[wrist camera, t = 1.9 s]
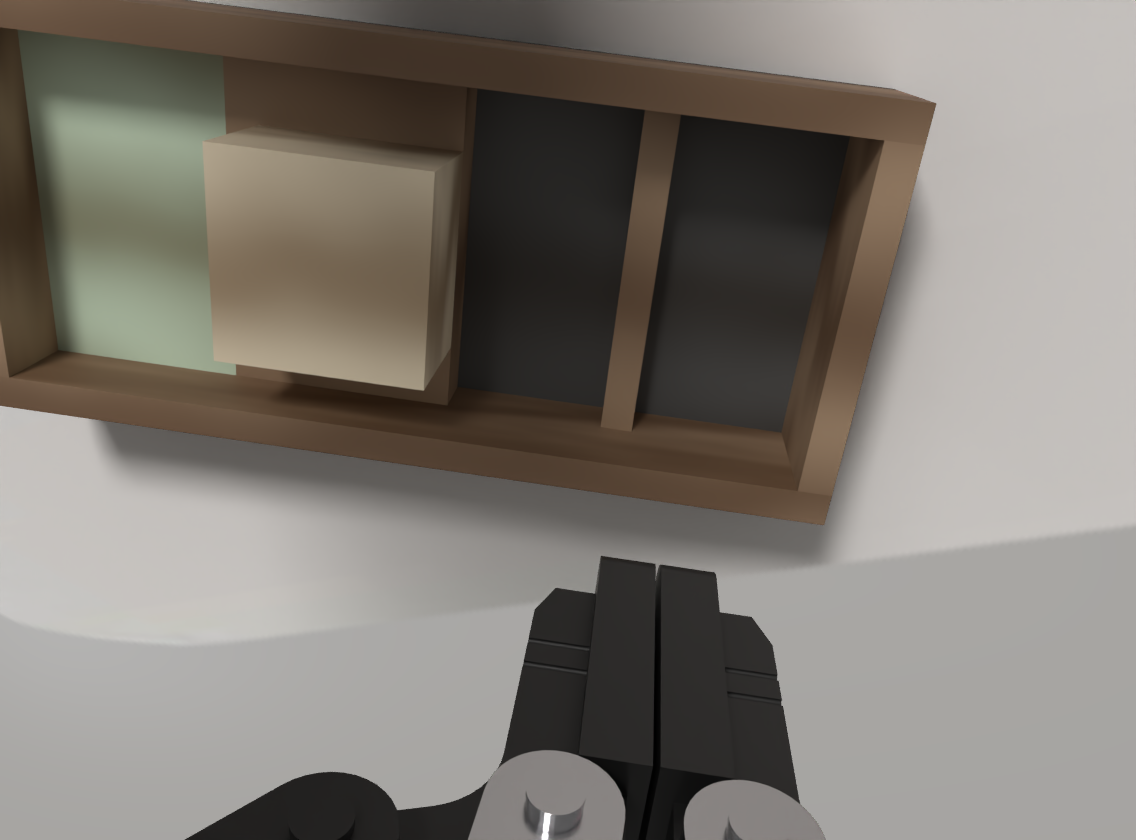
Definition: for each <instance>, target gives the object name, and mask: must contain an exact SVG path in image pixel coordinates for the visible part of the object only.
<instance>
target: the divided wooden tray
mask: <svg viewBox="0 0 1136 840" xmlns="http://www.w3.org/2000/svg"><path fill="white" fill-rule="evenodd" d="M935 107H936V103H933V102H930V101H927V100H925V99H922V98H919V97H916V96H913V95H910V94H907V93H904V92H901V91H898V90H895V89H889V88H881V87H873V86H865V85H858V84H850V83H842V82H834V81H826V80H818V79H810V78H802V77H794V76H786V75H778V74H770V73H762V72H754V71H746V70H738V69H730V68H722V67H714V66H706V65H699V64H691V63H683V62H675V61H667V60H659V59H651V58H643V57H635V56H627V55H619V54H611V53H603V52H595V51H587V50H579V49H571V48H563V47H555V46H547V45H540V44H532V43H524V42H516V41H508V40H500V39H492V38H484V37H476V36H468V35H460V34H452V33H444V32H436V31H428V30H420V29H412V28H404V27H396V26H389V25H381V24H373V23H365V22H357V21H349V20H341V19H333V18H325V17H317V16H309V15H301V14H293V13H285V12H277V11H269V10H261V9H253V8H245V7H237V6H230V5H222V4H214V3H206V2H198V1H190V0H0V406H6V407H13V408H20V409H27V410H34V411H41V412H47V413H54V414H61V415H68V416H75V417H82V418H89V419H96V420H103V421H109V422H116V423H123V424H130V425H137V426H144V427H151V428H158V429H165V430H171V431H178V432H185V433H192V434H199V435H206V436H213V437H220V438H227V439H233V440H240V441H247V442H254V443H261V444H268V445H275V446H282V447H289V448H295V449H302V450H309V451H316V452H323V453H330V454H337V455H344V456H351V457H357V458H364V459H371V460H378V461H385V462H392V463H399V464H406V465H413V466H419V467H426V468H433V469H440V470H447V471H454V472H461V473H468V474H475V475H481V476H488V477H495V478H502V479H509V480H516V481H523V482H530V483H537V484H543V485H550V486H557V487H564V488H571V489H578V490H585V491H592V492H599V493H605V494H612V495H619V496H626V497H633V498H640V499H647V500H654V501H661V502H667V503H674V504H681V505H688V506H695V507H702V508H709V509H716V510H723V511H729V512H736V513H743V514H750V515H757V516H764V517H771V518H778V519H785V520H791V521H798V522H805V523H812V524H819V525H824V524H825V520H826V516H827V512H828V508H829V505H830V501H831V497H832V493H833V490H834V486H835V482H836V478H837V475H838V471H839V467H840V463H841V460H842V456H843V452H844V448H845V445H846V441H847V437H848V433H849V430H850V426H851V422H852V418H853V415H854V411H855V407H856V403H857V400H858V396H859V392H860V388H861V385H862V381H863V377H864V373H865V370H866V366H867V362H868V358H869V354H870V351H871V347H872V343H873V339H874V336H875V332H876V328H877V324H878V321H879V317H880V313H881V309H882V306H883V302H884V298H885V294H886V291H887V287H888V283H889V279H890V276H891V272H892V268H893V264H894V261H895V257H896V253H897V249H898V246H899V242H900V238H901V234H902V231H903V227H904V223H905V219H906V216H907V212H908V208H909V204H910V200H911V197H912V193H913V189H914V185H915V182H916V178H917V174H918V170H919V167H920V163H921V159H922V155H923V152H924V148H925V144H926V140H927V137H928V133H929V129H930V125H931V122H932V118H933V114H934V110H935ZM258 125H262V126H270V127H278V128H285V129H293V130H301V131H308V132H316V133H323V134H331V135H339V136H346V137H354V138H362V139H369V140H377V141H384V142H392V143H400V144H407V145H415V146H423V147H430V148H438V149H446V150H453V151H461V152H463V163H462V179H461V195H460V211H459V227H458V243H457V259H456V275H455V291H454V307H453V323H452V339H451V348H450V350H449V351H448V353H447V355H446V356H445V358H444V359H443V361H442V362H441V364H440V366H439V367H438V369H437V370H436V372H435V374H434V375H433V377H432V378H431V380H430V382H429V383H428V385H427V386H426V388H425V389H424V391H422V390H415V389H408V388H401V387H394V386H387V385H380V384H373V383H366V382H359V381H352V380H345V379H338V378H331V377H324V376H317V375H310V374H303V373H295V372H288V371H281V370H274V369H267V368H260V367H253V366H246V365H239V364H232V363H225V362H218V361H214V354H213V335H212V316H211V297H210V278H209V259H208V240H207V221H206V202H205V183H204V164H203V145H202V141H205V140H208V139H212V138H215V137H219V136H222V135H226V134H229V133H233V132H237V131H240V130H244V129H247V128H251V127H254V126H258Z"/></svg>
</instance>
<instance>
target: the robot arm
mask: <svg viewBox="0 0 1136 840" xmlns="http://www.w3.org/2000/svg"><path fill="white" fill-rule="evenodd" d="M655 576H656V567H655V564H652V563H645V562H638V561H632V560H625V559H618V558H611V557H605V556H601V559H600V564H599V571H598V577H597V584H596V591H595V594H593V593H586V592H579V591H573V590H566V589H560V588H555V589H554V590H553V591H552V593H551V594H550V595H549V596H548V597H547V598H546V599H545V600H544V601H543V602H542V603H541V604H540V605H539V606H538V607H537V608H536V609H535V612H534V616H533V620H532V625H531V630H530V635H529V640H528V644H527V649H526V653H525V658H524V664H523V667H522V672H521V676H520V681H519V686H518V690H517V695H516V700H515V705H514V709H513V714H512V719H511V723H510V728H509V733H508V737H507V742H506V747H505V751H504V755H503V758H502V761H501V763H500V765H499V767H498V769H497V770H496V771H495V772H494V773H493V775H492V776H491V777H490V779H489V780H488V781H487V782H486V783H485V784H484V785H483V786H482V787H481V788H479V789H478V790H476V791H475V792H473V793H471V794H470V795H467V796H465V797H463V798H461V799H459V800H456V801H453V802H450V803H446V804H442V805H436V806H430V807H421V808H413V809H406V810H397V809H396V807H395V805H394V803H393V801H392V799H391V798H390V797H389V796H388V795H387V793H386V792H385V791H383V790H382V789H381V788H380V787H379V786H378V785H376V784H374V783H373V782H370V781H369V780H367V779H364V778H362V777H359V776H357V775H352V774H347V773H340V772H323V773H316V774H310V775H305V776H302V777H299V778H296V779H293V780H291V781H289V782H287V783H285V784H283V785H281V786H279V787H277V788H275V789H274V790H272V791H270V792H268V793H267V794H265V795H263V796H261V797H259V798H258V799H256V800H254V801H252V802H251V803H249V804H247V805H245V806H244V807H242V808H240V809H238V810H237V811H235V812H233V813H231V814H229V815H228V816H226V817H224V818H222V819H220V820H219V821H217V822H215V823H213V824H212V825H210V826H208V827H206V828H205V829H203V830H201V831H199V832H197V833H196V834H194V835H192V836H190V837H189V838H187V839H185V840H826V839H825V837H824V834H823V832H822V830H821V828H820V827H819V825H818V823H817V822H816V821H815V819H814V818H813V817H812V816H811V814H810V813H809V812H808V811H807V810H806V809H805V808H804V807H802V805H801V804H800V801H799V797H798V791H797V785H796V779H795V773H794V768H793V763H792V756H791V751H790V744H789V739H788V733H787V727H786V721H785V716H784V710H783V706H781V701H782V698H781V693H780V687H779V681H777V669H776V663H775V658H774V652H773V646H772V644H771V643H770V641H769V640H768V639H767V637H766V636H765V635H764V633H763V632H762V630H761V629H760V628H759V627H758V625H757V624H756V622H755V621H754V620H753V618H752V617H748V616H741V615H734V614H728V613H720V612H719V601H718V590H717V579H716V574H715V573H714V572H707V571H700V570H694V569H687V568H680V567H673V566H667V565H659V568H658V572H657V576H656V581H655Z"/></svg>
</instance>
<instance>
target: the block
mask: <svg viewBox="0 0 1136 840" xmlns="http://www.w3.org/2000/svg"><path fill="white" fill-rule="evenodd" d="M202 145H203V164H204V183H205V202H206V221H207V240H208V259H209V278H210V297H211V316H212V335H213V354H214V361H218V362H225V363H232V364H239V365H246V366H253V367H260V368H267V369H274V370H281V371H288V372H295V373H303V374H310V375H317V376H324V377H331V378H338V379H345V380H352V381H359V382H366V383H373V384H380V385H387V386H394V387H401V388H408V389H415V390H422V391H424V389H425V388H426V386H427V385H428V383H429V382H430V380H431V378H432V377H433V375H434V374H435V372H436V370H437V369H438V367H439V366H440V364H441V362H442V361H443V359H444V358H445V356H446V355H447V353H448V351H449V350H450V348H451V339H452V323H453V307H454V291H455V275H456V259H457V243H458V227H459V211H460V195H461V179H462V163H463V152H461V151H453V150H446V149H438V148H430V147H423V146H415V145H407V144H400V143H392V142H384V141H377V140H369V139H362V138H354V137H346V136H339V135H331V134H323V133H316V132H308V131H301V130H293V129H285V128H278V127H270V126H262V125H258V126H254V127H251V128H247V129H244V130H240V131H237V132H233V133H229V134H226V135H222V136H219V137H215V138H212V139H208V140H205V141H202Z"/></svg>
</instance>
